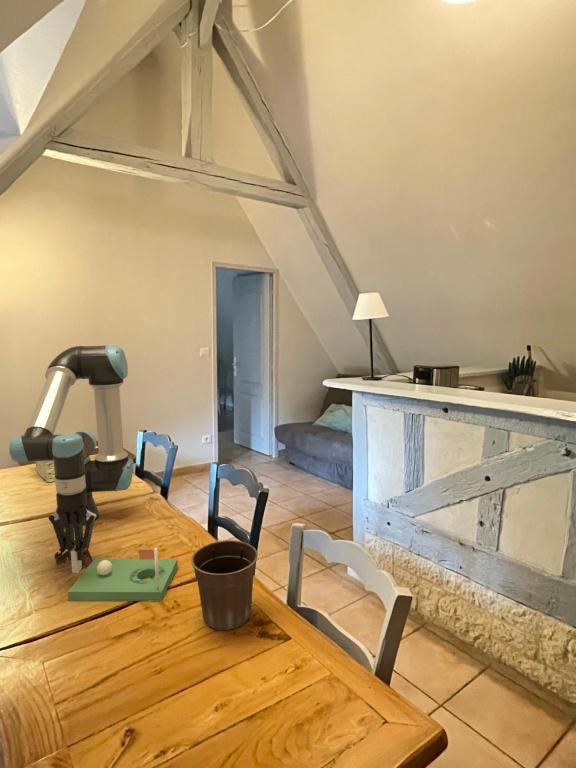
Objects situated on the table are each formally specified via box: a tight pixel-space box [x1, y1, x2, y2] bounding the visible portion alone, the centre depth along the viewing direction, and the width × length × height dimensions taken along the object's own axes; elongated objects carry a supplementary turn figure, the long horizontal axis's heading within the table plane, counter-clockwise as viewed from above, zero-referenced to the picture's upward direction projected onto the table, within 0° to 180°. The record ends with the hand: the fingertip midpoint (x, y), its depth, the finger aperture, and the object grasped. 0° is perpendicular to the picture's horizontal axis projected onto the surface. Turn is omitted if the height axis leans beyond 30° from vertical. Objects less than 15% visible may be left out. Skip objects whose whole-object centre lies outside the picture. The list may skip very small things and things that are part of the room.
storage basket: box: [34, 461, 55, 483], centre depth 221 cm, size 24×16×15 cm
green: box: [67, 558, 179, 602], centre depth 131 cm, size 25×17×2 cm
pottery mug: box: [53, 536, 94, 568], centre depth 142 cm, size 12×10×8 cm
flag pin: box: [138, 547, 159, 590], centre depth 123 cm, size 1×5×14 cm, turn 89°
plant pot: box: [190, 539, 259, 631], centre depth 115 cm, size 16×16×16 cm
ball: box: [97, 560, 112, 575], centre depth 130 cm, size 4×4×4 cm
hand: (77, 570), depth 130 cm, fingers closed
